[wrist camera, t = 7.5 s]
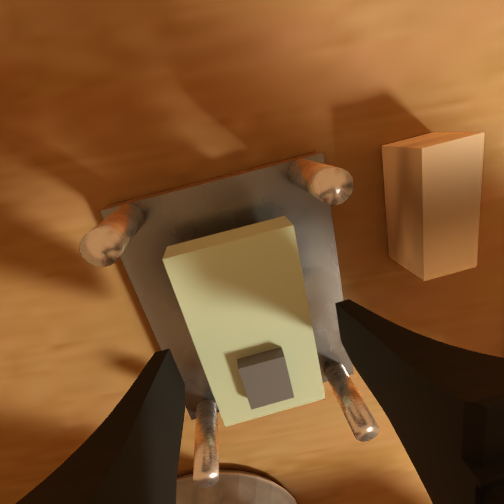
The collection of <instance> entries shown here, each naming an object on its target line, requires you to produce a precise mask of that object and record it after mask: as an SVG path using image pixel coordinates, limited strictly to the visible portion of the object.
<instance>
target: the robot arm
mask: <svg viewBox="0 0 504 504" xmlns="http://www.w3.org/2000/svg"><path fill="white" fill-rule="evenodd" d="M335 306H336V312H337V319H338V326H339V332H340V339H341V343H342V345H343V347H344V349H345V351H346V353H347V355H348V357H349V358H350V360H351V362H352V364H353V365H354V367H355V368H356V370H357V371H358V373H359V374H360V376H361V377H362V379H363V380H364V382H365V383H366V385H367V386H368V388H369V389H370V391H371V392H372V394H373V395H374V397H375V398H376V400H377V401H378V403H379V404H380V405H381V407H382V409H383V410H384V412H385V413H386V415H387V417H388V418H389V420H390V422H391V424H392V426H393V427H394V429H395V431H396V433H397V435H398V437H399V438H400V440H401V442H402V444H403V446H404V448H405V450H406V452H407V454H408V455H409V457H410V459H411V461H412V463H413V465H414V467H415V469H416V471H417V473H418V475H419V477H420V479H421V481H422V483H423V485H424V487H425V489H426V491H427V493H428V494H429V496H430V498H431V500H432V502H433V504H504V358H500V357H495V356H491V355H486V354H482V353H478V352H473V351H469V350H466V349H462V348H459V347H455V346H452V345H448V344H445V343H442V342H439V341H436V340H433V339H431V338H428V337H425V336H422V335H420V334H417V333H415V332H412V331H410V330H408V329H405V328H403V327H401V326H399V325H397V324H394V323H392V322H390V321H388V320H386V319H384V318H382V317H380V316H379V315H377V314H375V313H373V312H371V311H369V310H367V309H366V308H364V307H362V306H360V305H359V304H357V303H355V302H353V301H351V300H349V299H348V300H344V301H341V302H337V303H335ZM184 413H185V384H184V381H183V379H182V377H181V374H180V372H179V369H178V367H177V365H176V362H175V360H174V358H173V355H172V353H171V351H170V348H169V349H165V350H162V351H158V352H155V353H154V355H153V356H152V357H151V359H150V360H149V362H148V363H147V365H146V366H145V368H144V369H143V370H142V372H141V373H140V375H139V376H138V378H137V379H136V380H135V382H134V383H133V385H132V386H131V387H130V389H129V390H128V392H127V393H126V394H125V395H124V397H123V398H122V399H121V401H120V402H119V403H118V404H117V406H116V407H115V408H114V410H113V411H112V412H111V413H110V415H109V416H108V417H107V418H106V419H105V420H104V422H103V423H102V424H101V425H100V426H99V427H98V428H97V429H96V431H95V432H94V433H93V434H92V435H91V436H90V437H89V438H88V439H87V440H86V441H85V442H84V443H83V444H82V445H81V446H80V447H79V448H78V449H77V450H76V451H75V452H74V453H73V454H72V455H71V456H70V457H69V458H68V459H67V460H66V461H65V462H64V463H63V464H62V465H61V466H60V467H58V468H57V469H56V470H55V471H54V472H53V473H52V474H51V475H50V476H48V477H47V478H46V479H45V480H44V481H43V482H41V483H40V484H39V485H38V486H37V487H36V488H34V489H33V490H32V491H31V492H30V493H28V494H27V495H26V496H25V497H23V498H22V499H21V500H20V501H18V502H17V503H16V504H176V489H177V471H178V461H179V453H180V446H181V438H182V430H183V422H184Z"/></svg>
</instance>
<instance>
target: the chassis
mask: <svg viewBox="0 0 504 504" xmlns="http://www.w3.org/2000/svg"><path fill="white" fill-rule="evenodd" d="M353 188H354V182H353V178H352V176H351V174H350V173H349V172H348V171H347V170H345V169H342V168H338V167H334V166H330V165H327V164H325V161H324V154H323V153H321V152H313V153H309V154H305V155H301V156H297V157H293V158H289V159H286V160H282V161H278V162H274V163H270V164H266V165H262V166H259V167H255V168H251V169H247V170H243V171H239V172H235V173H231V174H228V175H224V176H220V177H216V178H212V179H208V180H204V181H201V182H197V183H193V184H189V185H185V186H181V187H177V188H174V189H170V190H166V191H162V192H158V193H154V194H150V195H147V196H143V197H139V198H135V199H131V200H127V201H123V202H120V203H116V204H112V205H108V206H106V207H105V208H103V209H102V210H100V212H101V214H102V217H103V219H104V220H103V221H102V222H101V223H99V224H98V225H97V226H96V227H94V228H93V229H92V230H91V231H90V232H88V233H87V234H86V235H85V236H84V237H83V238H82V239H81V241H80V245H79V249H80V253H81V255H82V257H83V258H84V259H85V260H86V261H87V262H88V263H90V264H92V265H94V266H98V267H106V266H109V265H112V264H113V263H115V262H116V261H117V259H118V258H119V257H120V258H121V260H122V262H123V265H124V267H125V269H126V271H127V274H128V276H129V278H130V280H131V283H132V285H133V287H134V290H135V292H136V294H137V296H138V299H139V301H140V303H141V306H142V308H143V310H144V312H145V315H146V317H147V319H148V321H149V324H150V326H151V328H152V331H153V333H154V335H155V337H156V340H157V342H158V344H159V347H160V349H161V351H162V350H165V349H169V348H170V351H171V353H172V355H173V358H174V360H175V362H176V365H177V367H178V369H179V372H180V374H181V377H182V379H183V381H184V384H185V406H186V408H187V410H188V413H189V415H190V417H191V419H192V420H193V419H196V429H195V449H194V470H193V483H194V484H195V485H196V486H197V487H200V488H208V487H212V486H214V485H215V484H216V483H217V482H218V481H219V451H218V415H217V412H220V411H219V409H218V406H217V403H216V401H215V398H214V395H213V393H212V390H211V387H210V385H209V382H208V379H207V377H206V374H205V372H204V369H203V366H202V364H201V361H200V358H199V356H198V353H197V350H196V348H195V345H194V342H193V340H192V337H191V334H190V332H189V329H188V326H187V324H186V321H185V319H184V316H183V313H182V311H181V308H180V305H179V303H178V300H177V297H176V295H175V292H174V289H173V287H172V284H171V281H170V279H169V276H168V273H167V271H166V268H165V266H164V263H163V260H162V259H163V256H164V254H165V251H166V248H167V246H171V245H175V244H178V243H182V242H186V241H190V240H194V239H198V238H201V237H205V236H209V235H213V234H217V233H221V232H224V231H228V230H232V229H236V228H240V227H244V226H247V225H251V224H255V223H259V222H263V221H266V220H270V219H274V218H278V217H282V216H286V217H287V218H288V220H289V221H290V222H291V223H292V224H293V225H294V230H295V236H296V241H297V246H298V252H299V257H300V263H301V268H302V274H303V279H304V284H305V290H306V295H307V301H308V306H309V311H310V317H311V322H312V328H313V333H314V338H315V344H316V349H317V355H318V360H319V365H320V371H321V376H322V382H326V381H329V384H330V386H331V388H332V390H333V392H334V394H335V396H336V398H337V400H338V402H339V404H340V406H341V409H342V411H343V413H344V415H345V417H346V419H347V421H348V423H349V425H350V427H351V429H352V431H353V434H354V436H355V438H356V439H357V440H359V441H368V440H371V439H373V438H374V437H375V436H376V435H377V434H378V432H379V427H378V425H377V423H376V421H375V420H374V418H373V416H372V414H371V413H370V411H369V409H368V408H367V406H366V404H365V402H364V401H363V399H362V397H361V395H360V394H359V392H358V390H357V388H356V387H355V385H354V383H353V382H352V380H351V378H350V376H349V375H350V374H353V366H352V362H351V360H350V358H349V357H348V355H347V353H346V351H345V349H344V347H343V345H342V343H341V339H340V332H339V326H338V319H337V312H336V306H335V303H337V302H341V301H344V300H343V293H342V286H341V278H340V271H339V264H338V256H337V249H336V242H335V234H334V227H333V220H332V212H331V205H339V204H342V203H344V202H345V201H346V200H347V199H348V198H349V197H350V195H351V194H352V191H353Z"/></svg>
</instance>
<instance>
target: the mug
mask: <svg viewBox="0 0 504 504" xmlns="http://www.w3.org/2000/svg"><path fill="white" fill-rule="evenodd" d="M176 504H297V502H296V501H295V499H294V498H293V497H292V496H291V495H290V494H289V493H288V492H287V491H286V490H285V489H284V488H283V487H281V486H280V485H278V484H276V483H275V482H273V481H271V480H270V479H268V478H266V477H263V476H260V475H257V474H255V473H251V472H245V471H239V470H219V481H218V482H217V483H216V484H215V485H214V486H212V487H208V488H200V487H197V486H196V485H195V484H194V483H193V473H192V474H188V475H184V476H181V477H178V478H177V489H176Z"/></svg>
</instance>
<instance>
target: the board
mask: <svg viewBox="0 0 504 504" xmlns="http://www.w3.org/2000/svg"><path fill="white" fill-rule="evenodd" d="M162 260H163V263H164V266H165V268H166V271H167V273H168V276H169V279H170V281H171V284H172V287H173V289H174V292H175V295H176V297H177V300H178V303H179V305H180V308H181V311H182V313H183V316H184V319H185V321H186V324H187V326H188V329H189V332H190V334H191V337H192V340H193V342H194V345H195V348H196V350H197V353H198V356H199V358H200V361H201V364H202V366H203V369H204V372H205V374H206V377H207V379H208V382H209V385H210V387H211V390H212V393H213V395H214V398H215V401H216V403H217V406H218V409H219V411H220V414H221V417H222V419H223V422H224V425H225V427H227V426H230V425H234V424H237V423H241V422H244V421H248V420H251V419H255V418H259V417H262V416H266V415H269V414H273V413H276V412H280V411H283V410H287V409H290V408H294V407H297V406H301V405H304V404H308V403H311V402H315V401H318V400H322V399H325V392H324V387H323V382H322V376H321V371H320V365H319V360H318V355H317V349H316V344H315V338H314V333H313V328H312V322H311V317H310V311H309V306H308V301H307V295H306V290H305V284H304V279H303V274H302V268H301V263H300V257H299V252H298V246H297V241H296V236H295V230H294V225H293V224H292V223H291V222H290V221H289V220H288V218H287V217H286V216H282V217H278V218H274V219H270V220H266V221H263V222H259V223H255V224H251V225H247V226H244V227H240V228H236V229H232V230H228V231H224V232H221V233H217V234H213V235H209V236H205V237H201V238H198V239H194V240H190V241H186V242H182V243H178V244H175V245H171V246H167V248H166V251H165V254H164V256H163V259H162Z"/></svg>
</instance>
